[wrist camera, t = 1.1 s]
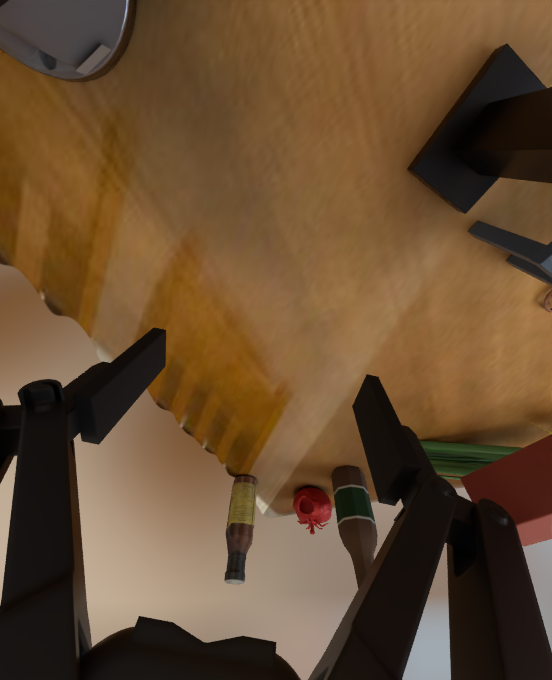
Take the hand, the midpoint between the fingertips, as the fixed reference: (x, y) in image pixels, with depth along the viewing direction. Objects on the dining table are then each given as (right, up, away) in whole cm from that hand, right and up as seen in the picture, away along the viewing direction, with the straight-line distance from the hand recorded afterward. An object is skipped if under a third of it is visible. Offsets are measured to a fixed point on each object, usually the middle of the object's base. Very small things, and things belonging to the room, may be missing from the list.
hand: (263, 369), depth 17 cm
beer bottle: (+18, -31, +47) cm, 59 cm away
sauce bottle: (-7, -35, +51) cm, 62 cm away
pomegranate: (+10, -39, +54) cm, 67 cm away
